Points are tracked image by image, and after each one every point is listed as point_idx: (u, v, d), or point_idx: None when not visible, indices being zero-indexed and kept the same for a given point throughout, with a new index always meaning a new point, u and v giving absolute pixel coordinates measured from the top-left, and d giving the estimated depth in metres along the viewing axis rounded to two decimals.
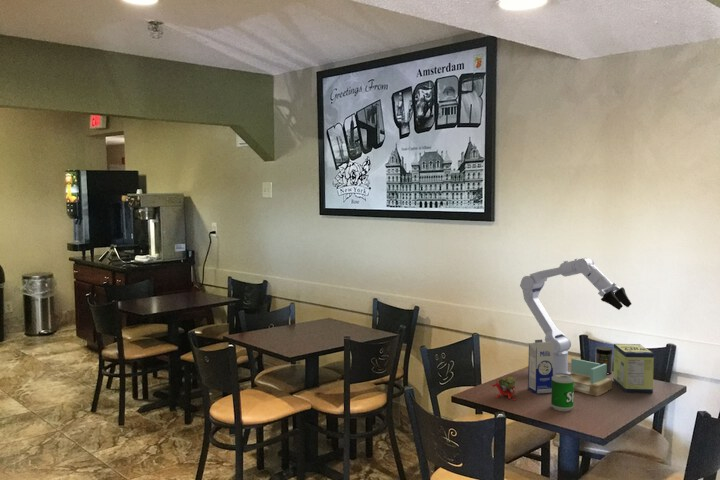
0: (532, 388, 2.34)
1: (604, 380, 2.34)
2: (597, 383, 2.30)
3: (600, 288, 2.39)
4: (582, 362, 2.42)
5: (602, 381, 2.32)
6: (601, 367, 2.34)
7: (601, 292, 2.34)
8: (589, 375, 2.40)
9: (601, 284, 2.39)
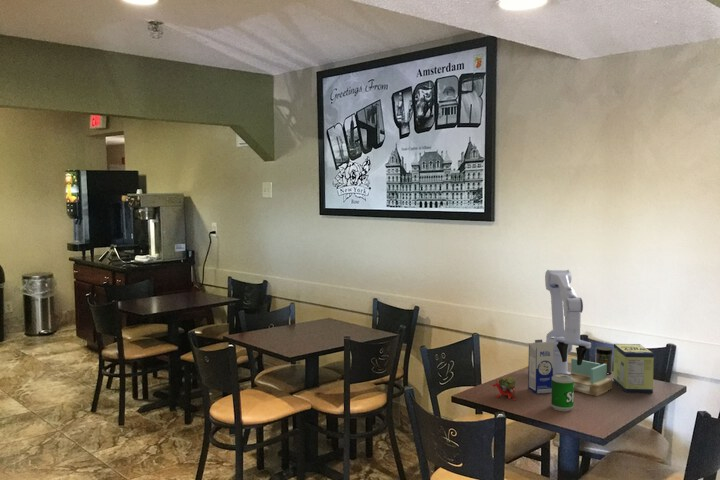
0: (532, 388, 2.34)
1: (604, 380, 2.34)
2: (597, 383, 2.30)
3: None
4: (582, 362, 2.42)
5: (602, 381, 2.32)
6: (601, 367, 2.34)
7: None
8: (589, 375, 2.40)
9: None
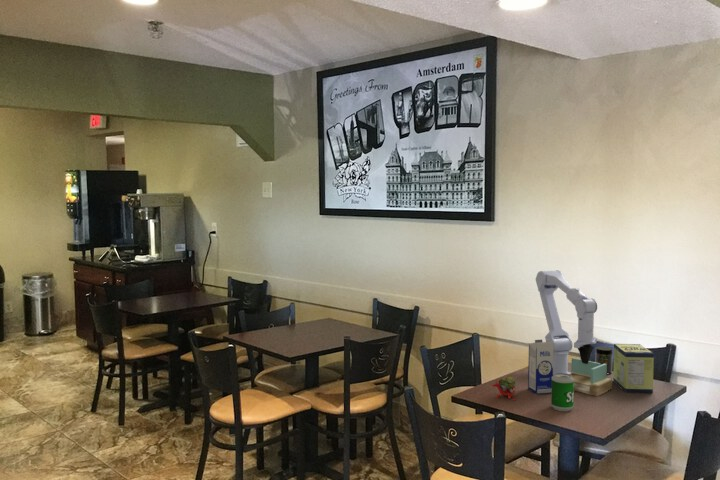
0: (532, 388, 2.34)
1: (604, 380, 2.34)
2: (597, 383, 2.30)
3: (580, 336, 2.39)
4: None
5: (602, 381, 2.32)
6: (601, 367, 2.34)
7: (577, 345, 2.35)
8: (589, 375, 2.40)
9: (583, 335, 2.38)
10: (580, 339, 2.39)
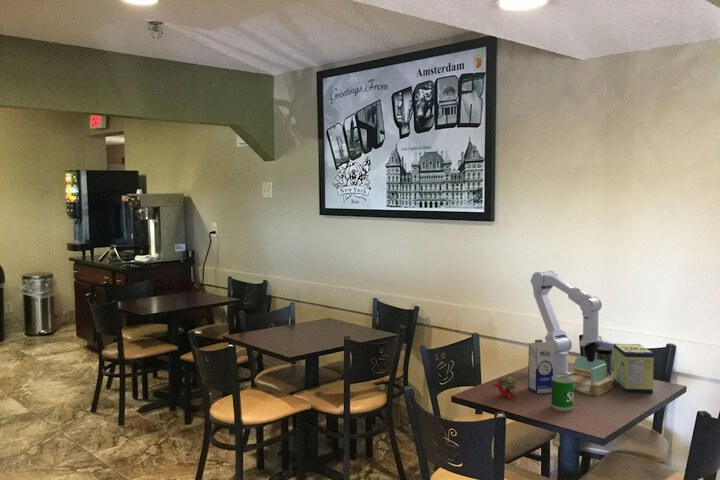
0: (532, 388, 2.34)
1: (604, 380, 2.34)
2: (597, 383, 2.30)
3: (585, 335, 2.42)
4: None
5: (602, 381, 2.32)
6: (601, 367, 2.34)
7: (582, 343, 2.38)
8: None
9: (588, 334, 2.40)
10: (585, 337, 2.41)
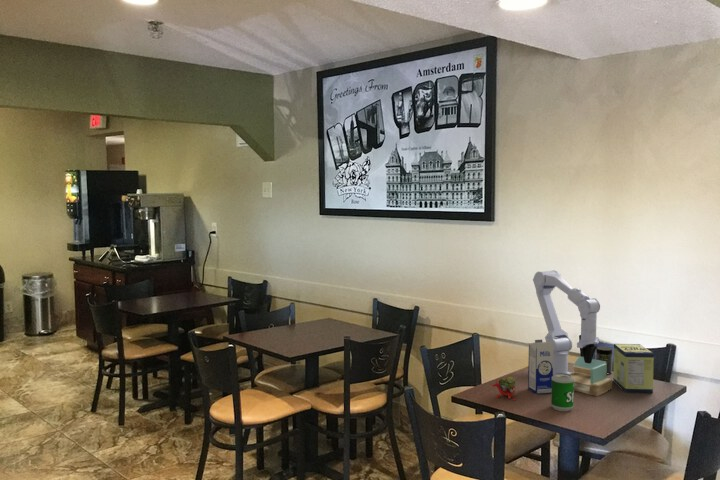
0: (532, 388, 2.34)
1: (604, 380, 2.34)
2: (597, 383, 2.30)
3: (583, 336, 2.41)
4: None
5: (602, 381, 2.32)
6: (601, 367, 2.34)
7: (580, 345, 2.37)
8: (591, 368, 2.41)
9: (586, 335, 2.39)
10: (583, 339, 2.41)
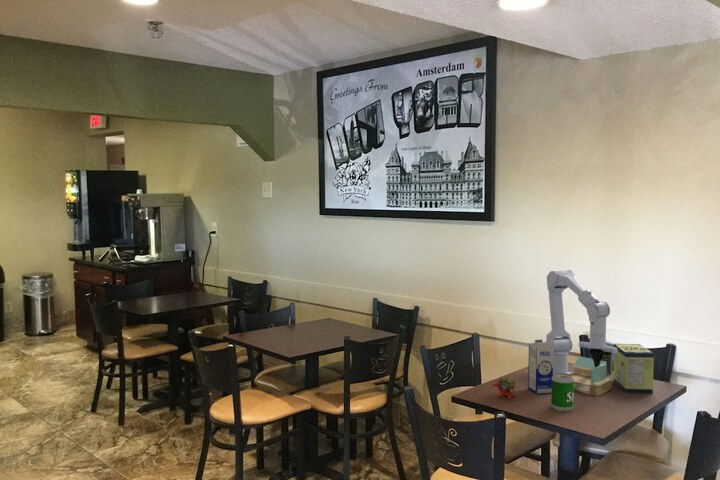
0: (532, 388, 2.34)
1: (604, 380, 2.34)
2: (597, 383, 2.30)
3: None
4: (589, 359, 2.45)
5: (602, 381, 2.32)
6: (601, 367, 2.34)
7: None
8: (591, 368, 2.41)
9: None
10: None
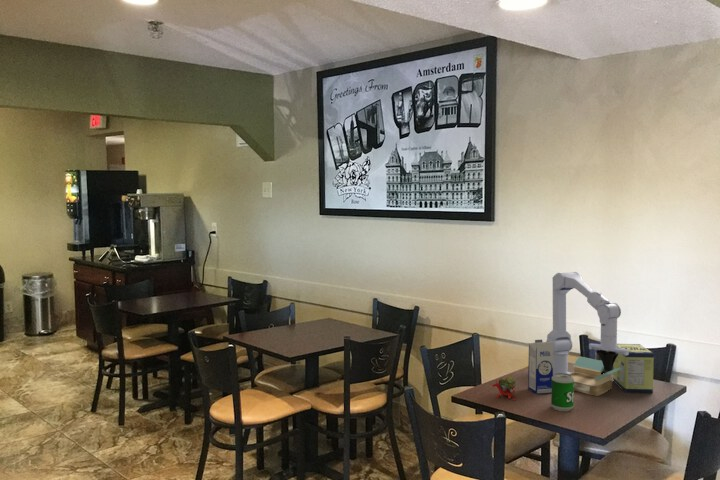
0: (532, 388, 2.34)
1: (606, 379, 2.33)
2: (599, 382, 2.29)
3: None
4: (589, 359, 2.45)
5: (604, 380, 2.32)
6: None
7: None
8: (591, 368, 2.41)
9: None
10: None
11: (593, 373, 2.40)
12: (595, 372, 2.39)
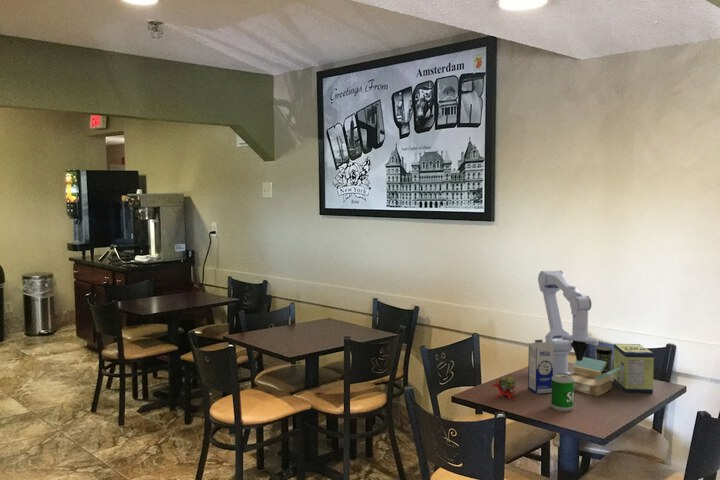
0: (532, 388, 2.34)
1: (606, 379, 2.33)
2: (599, 382, 2.29)
3: None
4: (589, 359, 2.45)
5: (604, 380, 2.32)
6: None
7: None
8: (591, 368, 2.41)
9: None
10: None
11: (593, 373, 2.40)
12: (595, 372, 2.39)
